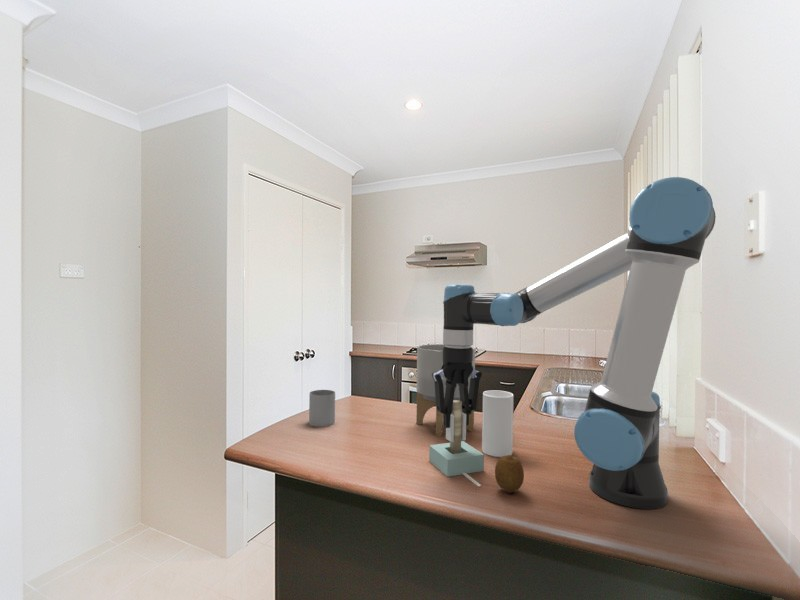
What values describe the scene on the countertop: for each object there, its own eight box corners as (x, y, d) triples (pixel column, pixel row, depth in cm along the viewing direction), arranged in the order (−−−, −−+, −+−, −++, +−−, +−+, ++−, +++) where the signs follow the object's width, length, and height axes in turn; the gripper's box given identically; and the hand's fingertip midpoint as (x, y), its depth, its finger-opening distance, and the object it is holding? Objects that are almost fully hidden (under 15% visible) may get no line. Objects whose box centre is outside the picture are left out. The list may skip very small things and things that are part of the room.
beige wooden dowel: (462, 466, 103) (464, 402, 103) (452, 468, 102) (454, 403, 102) (457, 462, 106) (458, 400, 106) (447, 463, 105) (448, 400, 105)
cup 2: (513, 458, 109) (514, 398, 109) (481, 455, 111) (482, 396, 111) (511, 447, 117) (512, 391, 117) (482, 444, 119) (482, 389, 119)
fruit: (488, 491, 91) (489, 454, 90) (504, 482, 95) (504, 447, 95) (514, 501, 86) (515, 463, 86) (529, 491, 90) (529, 455, 90)
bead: (483, 470, 101) (483, 454, 101) (447, 476, 97) (447, 459, 97) (463, 455, 110) (463, 440, 110) (429, 460, 107) (429, 445, 107)
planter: (424, 415, 147) (425, 342, 147) (477, 421, 141) (478, 345, 141) (408, 432, 129) (410, 349, 129) (469, 439, 123) (470, 352, 123)
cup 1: (308, 419, 140) (308, 390, 140) (332, 418, 142) (333, 389, 142) (310, 427, 132) (311, 396, 132) (336, 425, 134) (336, 394, 134)
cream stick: (481, 486, 93) (481, 485, 93) (478, 487, 92) (478, 485, 92) (465, 473, 99) (465, 472, 99) (462, 474, 99) (462, 472, 99)
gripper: (477, 343, 110) (475, 431, 110) (422, 345, 104) (421, 437, 104) (493, 347, 103) (490, 440, 103) (436, 349, 97) (434, 448, 97)
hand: (455, 439), depth 104 cm, fingers closed on beige wooden dowel, 3 cm apart
